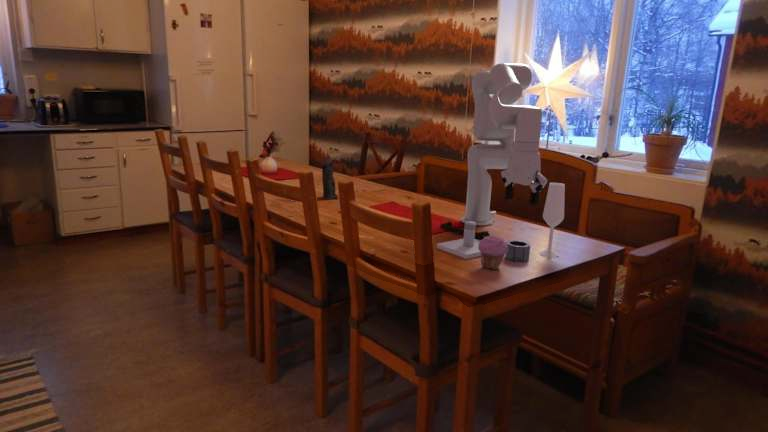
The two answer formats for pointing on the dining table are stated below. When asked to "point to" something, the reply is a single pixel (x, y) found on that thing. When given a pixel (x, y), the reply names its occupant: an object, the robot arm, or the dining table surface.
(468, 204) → the robot arm
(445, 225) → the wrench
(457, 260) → the dining table surface
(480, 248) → the cupcake
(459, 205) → the dining table surface
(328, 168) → the statue
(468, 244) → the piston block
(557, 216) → the champagne flute
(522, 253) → the steel ring
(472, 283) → the dining table surface
